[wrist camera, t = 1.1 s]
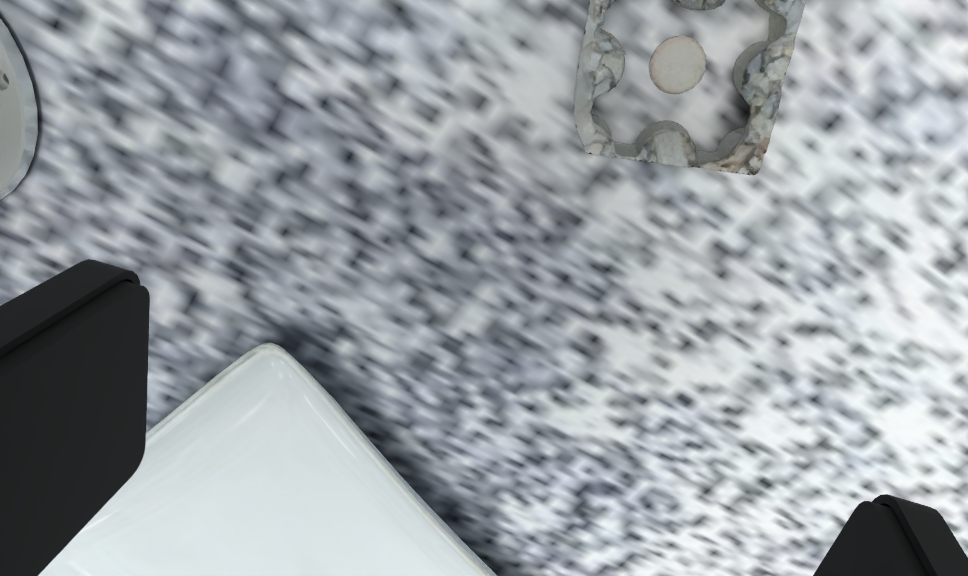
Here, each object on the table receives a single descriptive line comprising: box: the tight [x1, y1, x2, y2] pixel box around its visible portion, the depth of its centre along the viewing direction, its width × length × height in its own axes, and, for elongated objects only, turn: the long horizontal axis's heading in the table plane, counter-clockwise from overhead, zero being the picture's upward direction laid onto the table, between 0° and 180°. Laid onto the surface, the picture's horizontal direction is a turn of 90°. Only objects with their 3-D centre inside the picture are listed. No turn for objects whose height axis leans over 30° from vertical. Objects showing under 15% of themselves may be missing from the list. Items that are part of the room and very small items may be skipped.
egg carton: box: [574, 0, 806, 175], centre depth 26 cm, size 11×8×4 cm
